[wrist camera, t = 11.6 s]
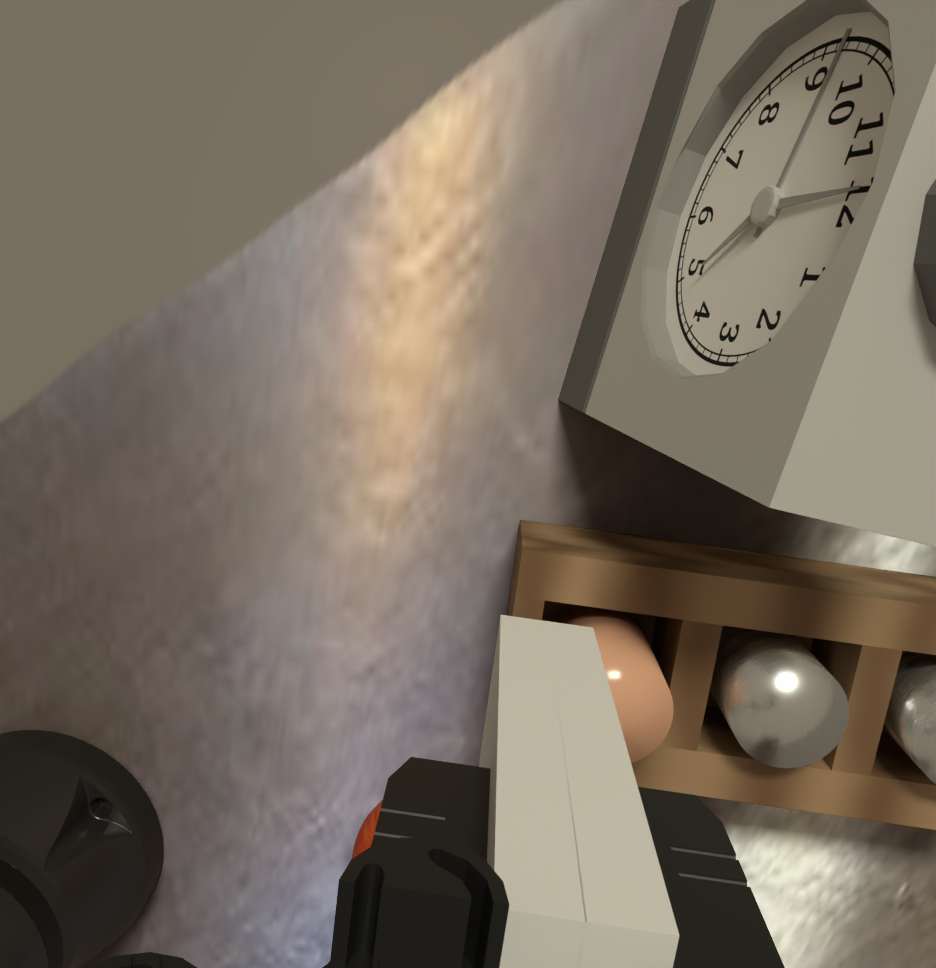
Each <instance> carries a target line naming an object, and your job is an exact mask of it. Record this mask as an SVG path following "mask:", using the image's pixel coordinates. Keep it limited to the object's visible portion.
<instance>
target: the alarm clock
mask: <svg viewBox="0 0 936 968" xmlns="http://www.w3.org/2000/svg"><path fill="white" fill-rule="evenodd" d="M558 400H560V401H562V402H564V403H565V404H567V405H569V406H571V407H573V408H575V409H577V410H579V411H581V412H583V413H585V414H587V415H589V416H591V417H593V418H595V419H597V420H599V421H601V422H603V423H605V424H607V425H608V426H610V427H612V428H614V429H616V430H618V431H620V432H622V433H624V434H626V435H628V436H630V437H632V438H634V439H636V440H638V441H640V442H642V443H644V444H646V445H648V446H650V447H651V448H653V449H655V450H657V451H659V452H661V453H663V454H665V455H667V456H669V457H671V458H673V459H675V460H677V461H679V462H681V463H683V464H685V465H687V466H689V467H691V468H693V469H694V470H696V471H698V472H700V473H702V474H704V475H706V476H708V477H710V478H712V479H714V480H716V481H718V482H720V483H722V484H724V485H726V486H728V487H730V488H732V489H734V490H736V491H738V492H739V493H741V494H743V495H745V496H747V497H749V498H751V499H753V500H755V501H757V502H759V503H761V504H763V505H765V506H767V507H769V508H773V509H777V510H781V511H786V512H790V513H794V514H798V515H803V516H807V517H811V518H815V519H820V520H824V521H828V522H832V523H837V524H841V525H845V526H849V527H854V528H858V529H862V530H866V531H871V532H875V533H879V534H883V535H888V536H892V537H896V538H901V539H905V540H909V541H913V542H918V543H922V544H926V545H930V546H935V547H936V0H690V1H688V2H687V3H685V4H683V5H682V6H680V7H679V9H678V12H677V15H676V19H675V22H674V25H673V28H672V32H671V35H670V38H669V41H668V45H667V48H666V51H665V54H664V58H663V61H662V64H661V67H660V71H659V74H658V77H657V80H656V84H655V87H654V90H653V93H652V97H651V100H650V103H649V106H648V110H647V113H646V116H645V119H644V123H643V126H642V129H641V132H640V136H639V139H638V142H637V145H636V148H635V152H634V155H633V158H632V161H631V165H630V168H629V171H628V174H627V178H626V181H625V184H624V187H623V191H622V194H621V197H620V200H619V204H618V207H617V210H616V213H615V217H614V220H613V223H612V226H611V230H610V233H609V236H608V239H607V243H606V246H605V249H604V252H603V256H602V259H601V262H600V265H599V269H598V272H597V275H596V278H595V282H594V285H593V288H592V291H591V295H590V298H589V301H588V304H587V308H586V311H585V314H584V317H583V320H582V324H581V327H580V330H579V333H578V337H577V340H576V343H575V346H574V350H573V353H572V356H571V359H570V363H569V366H568V369H567V372H566V376H565V379H564V382H563V385H562V389H561V392H560V395H559V398H558Z"/></svg>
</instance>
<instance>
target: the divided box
mask: <svg viewBox="0 0 936 968" xmlns="http://www.w3.org/2000/svg"><path fill="white" fill-rule="evenodd" d="M577 605H581V606H588V607H595V608H602V609H609V610H616V611H624V612H629V613H630V614H631V615H632V616H634V617H635V619H636V620H637V621H638V622H639V624H640V625H641V627H642V629H643V631H644V633H645V635H646V637H647V640H648V642H649V644H650V646H651V649H652V651H653V653H654V656H655V658H656V660H657V662H658V665H659V667H660V669H661V671H662V674H663V676H664V678H665V681H666V683H667V685H668V687H669V690H670V692H671V696H672V700H673V720H672V724H671V727H670V729H669V732H668V734H667V736H666V737H665V739H664V740H663V742H662V743H661V744H660V745H659V746H658V747H657V748H656V749H655V750H654V751H653V752H652V753H650V754H649V755H648V756H646V757H644V758H642V759H640V760H638V761H636V762H633V763H631V764H632V768H633V772H634V775H635V779H636V782H637V786H638V787H643V788H650V789H657V790H664V791H671V792H678V793H685V794H692V795H697V796H704V797H711V798H718V799H725V800H732V801H739V802H746V803H753V804H759V805H766V806H773V807H780V808H787V809H794V810H801V811H808V812H815V813H822V814H829V815H836V816H843V817H849V818H856V819H863V820H870V821H877V822H884V823H891V824H898V825H905V826H912V827H919V828H926V829H933V830H936V784H935V783H934V782H933V781H932V780H930V779H929V778H928V777H927V776H926V774H925V773H924V772H923V771H922V770H921V769H920V768H919V767H918V766H917V765H916V764H915V763H914V761H913V760H912V759H911V758H910V757H909V756H908V755H907V754H906V753H905V752H904V751H903V750H902V748H901V747H900V746H899V745H898V744H897V743H896V742H895V741H894V740H893V739H892V738H891V737H890V735H889V734H888V733H887V732H886V731H885V730H884V729H883V725H884V721H885V717H886V713H887V709H888V705H889V701H890V698H891V694H892V690H893V686H894V682H895V678H896V674H897V670H898V666H899V663H900V659H901V655H902V651H910V652H917V653H924V654H931V655H936V577H932V576H924V575H917V574H910V573H903V572H895V571H888V570H881V569H874V568H866V567H859V566H852V565H844V564H837V563H830V562H823V561H815V560H808V559H801V558H794V557H786V556H779V555H772V554H764V553H757V552H750V551H743V550H735V549H728V548H721V547H714V546H706V545H699V544H692V543H685V542H677V541H670V540H663V539H655V538H648V537H641V536H634V535H626V534H619V533H612V532H605V531H597V530H590V529H583V528H575V527H568V526H561V525H554V524H546V523H539V522H532V521H525V520H520V527H519V533H518V540H517V547H516V554H515V561H514V567H513V574H512V581H511V588H510V595H509V601H508V608H507V616H514V617H521V618H528V619H535V620H542V621H550V622H555V621H556V620H557V619H558V618H559V617H560V616H561V615H562V614H563V613H565V612H566V611H567V610H569V609H571V608H573V607H575V606H577ZM723 625H724V626H731V627H738V628H745V629H752V630H760V631H767V632H774V633H781V634H788V635H795V636H796V637H797V638H798V639H799V640H800V641H801V642H802V643H803V644H804V646H805V647H806V648H807V649H808V650H809V651H810V652H811V653H812V654H813V655H814V656H815V657H816V659H817V660H818V661H819V662H820V663H821V664H822V665H823V666H824V667H825V668H826V669H827V671H828V672H829V673H830V674H831V675H832V676H833V677H834V678H835V679H836V680H837V682H838V683H839V684H840V685H841V687H842V689H843V690H844V692H845V695H846V697H847V701H848V706H849V719H848V725H847V728H846V731H845V733H844V735H843V737H842V739H841V740H840V742H839V743H838V745H837V746H836V747H835V748H834V749H833V750H832V751H831V752H830V753H829V754H827V755H826V756H825V757H823V758H822V759H820V760H818V761H816V762H814V763H812V764H809V765H806V766H802V767H796V768H778V767H773V766H769V765H766V764H764V763H761V762H759V761H757V760H756V759H754V758H753V757H751V756H750V755H749V754H748V753H747V752H746V751H745V750H744V749H743V748H742V747H741V745H740V744H739V742H738V740H737V739H736V737H735V735H734V733H733V731H732V730H731V728H730V726H729V724H728V722H727V720H726V719H725V717H724V715H723V713H722V711H721V710H720V708H719V706H718V704H717V702H716V700H715V699H714V697H713V695H712V693H711V691H710V685H711V680H712V675H713V671H714V666H715V661H716V656H717V651H718V646H719V642H720V637H721V632H722V627H723Z"/></svg>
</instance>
